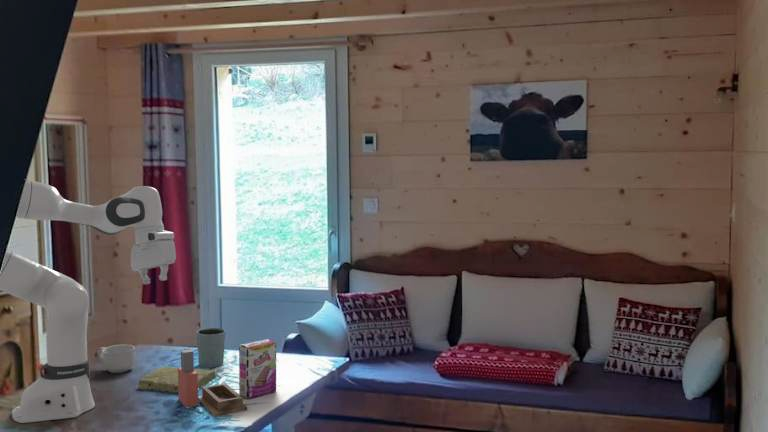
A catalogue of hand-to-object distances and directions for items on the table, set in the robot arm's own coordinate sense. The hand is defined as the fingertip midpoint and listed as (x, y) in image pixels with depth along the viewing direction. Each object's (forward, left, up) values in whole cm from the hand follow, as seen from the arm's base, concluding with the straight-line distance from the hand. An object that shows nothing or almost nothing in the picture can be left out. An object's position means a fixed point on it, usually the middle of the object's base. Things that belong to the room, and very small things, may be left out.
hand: (155, 282), depth 236 cm
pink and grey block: (+6, -11, -36) cm, 38 cm away
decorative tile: (+8, +10, -37) cm, 39 cm away
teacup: (-6, +36, -36) cm, 51 cm away
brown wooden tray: (+14, -19, -36) cm, 43 cm away
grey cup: (+25, +26, -36) cm, 51 cm away
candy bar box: (+27, -14, -36) cm, 48 cm away
